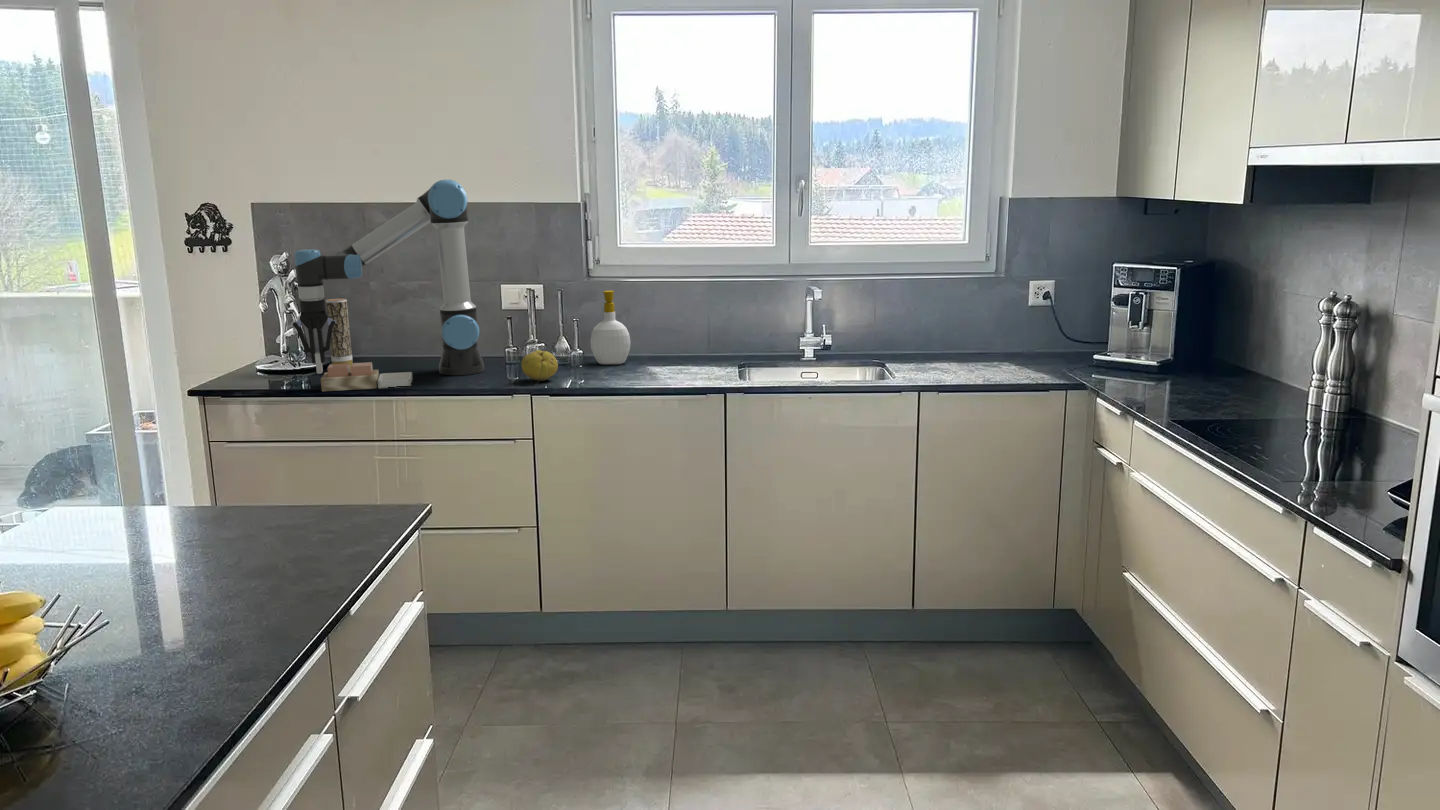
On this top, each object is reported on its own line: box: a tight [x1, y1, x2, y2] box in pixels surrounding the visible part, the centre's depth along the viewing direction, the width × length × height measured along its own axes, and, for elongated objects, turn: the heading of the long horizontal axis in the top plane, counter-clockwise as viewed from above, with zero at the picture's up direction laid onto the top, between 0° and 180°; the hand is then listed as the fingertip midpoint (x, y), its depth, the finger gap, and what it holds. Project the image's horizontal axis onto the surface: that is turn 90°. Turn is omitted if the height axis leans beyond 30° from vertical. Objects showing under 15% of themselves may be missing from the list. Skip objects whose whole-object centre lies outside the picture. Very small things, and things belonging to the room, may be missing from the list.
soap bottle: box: [589, 290, 631, 366], centre depth 356 cm, size 14×9×26 cm, turn 88°
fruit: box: [520, 349, 559, 382], centre depth 329 cm, size 11×12×10 cm
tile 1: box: [327, 363, 350, 377], centre depth 322 cm, size 6×6×3 cm
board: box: [320, 369, 380, 392], centre depth 324 cm, size 16×11×4 cm, turn 104°
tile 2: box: [351, 361, 374, 376], centre depth 324 cm, size 6×6×3 cm
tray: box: [377, 371, 413, 389], centre depth 327 cm, size 10×12×2 cm
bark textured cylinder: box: [325, 298, 354, 371], centre depth 346 cm, size 7×7×25 cm
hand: (319, 372), depth 321 cm, fingers closed
